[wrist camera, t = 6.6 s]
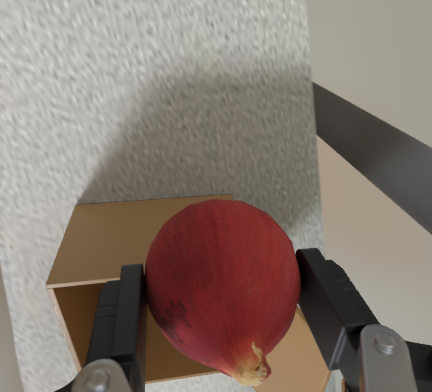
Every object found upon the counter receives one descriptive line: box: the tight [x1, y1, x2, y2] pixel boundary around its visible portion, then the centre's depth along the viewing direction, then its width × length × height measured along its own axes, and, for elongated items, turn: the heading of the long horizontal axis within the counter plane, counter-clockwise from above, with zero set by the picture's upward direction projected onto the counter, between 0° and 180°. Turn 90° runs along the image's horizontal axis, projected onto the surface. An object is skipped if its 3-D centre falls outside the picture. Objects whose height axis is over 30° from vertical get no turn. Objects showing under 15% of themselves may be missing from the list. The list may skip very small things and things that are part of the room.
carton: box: [46, 194, 233, 384], centre depth 31 cm, size 15×14×10 cm
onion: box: [145, 199, 301, 386], centre depth 12 cm, size 6×6×8 cm
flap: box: [253, 306, 332, 392], centre depth 24 cm, size 7×14×1 cm
